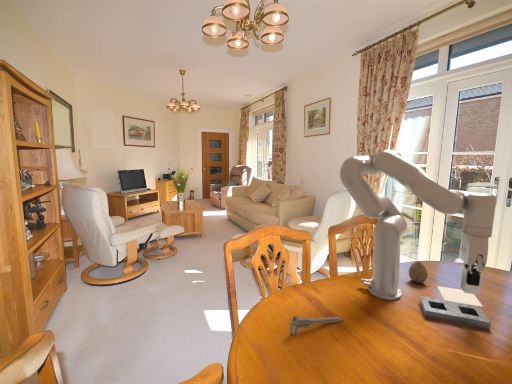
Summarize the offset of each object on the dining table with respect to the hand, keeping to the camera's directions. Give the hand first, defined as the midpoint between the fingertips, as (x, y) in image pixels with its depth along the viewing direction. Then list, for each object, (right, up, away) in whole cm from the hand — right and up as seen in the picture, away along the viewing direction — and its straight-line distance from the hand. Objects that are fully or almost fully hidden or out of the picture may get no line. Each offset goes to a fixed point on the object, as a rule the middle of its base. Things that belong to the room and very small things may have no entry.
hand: (470, 281), depth 89 cm
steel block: (0, -3, 0) cm, 3 cm away
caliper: (-53, -15, -1) cm, 55 cm away
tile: (+8, -12, +16) cm, 21 cm away
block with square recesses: (-4, -14, +3) cm, 14 cm away
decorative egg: (-1, -10, +28) cm, 30 cm away
